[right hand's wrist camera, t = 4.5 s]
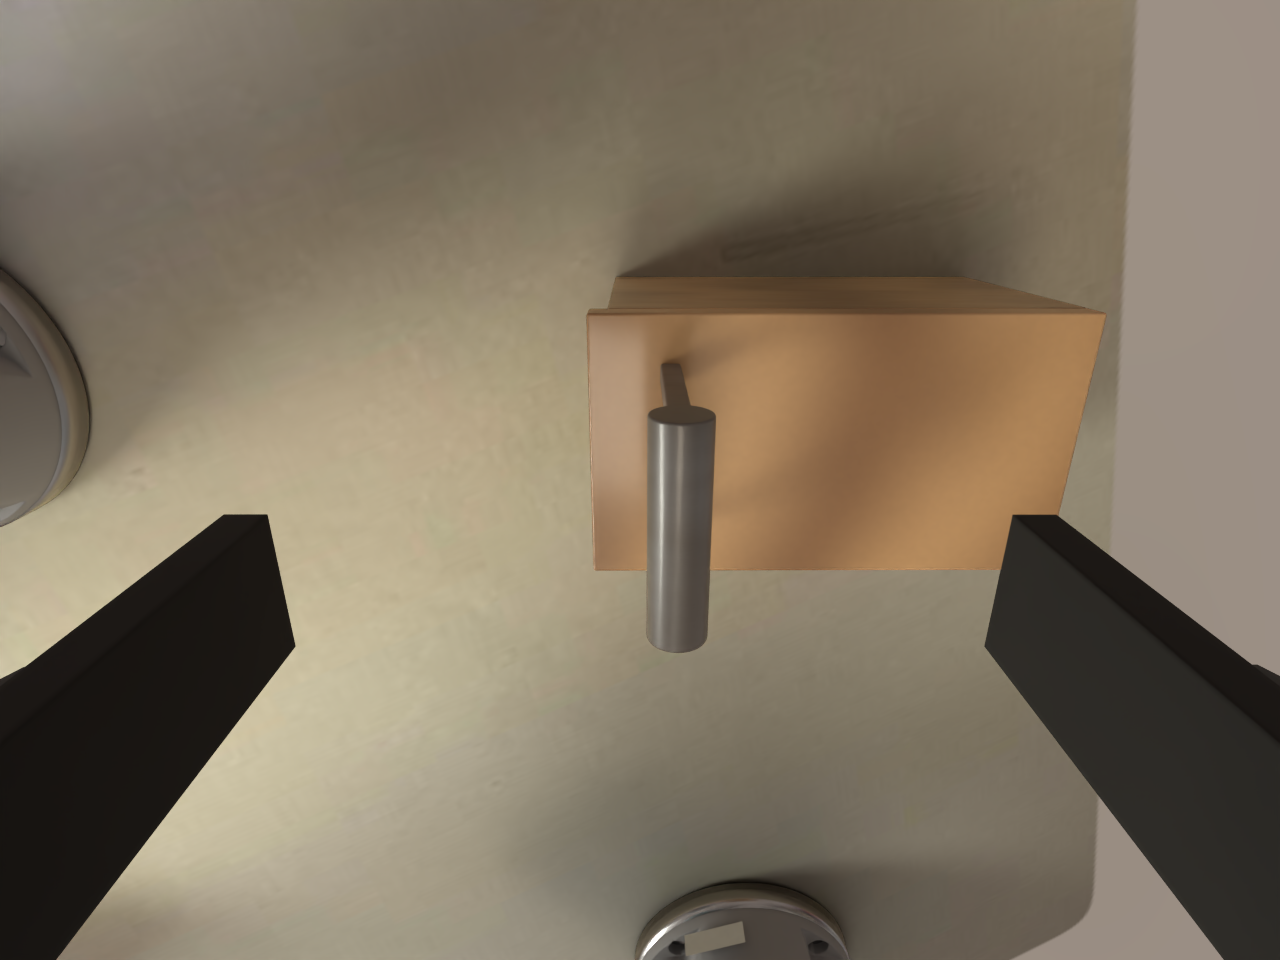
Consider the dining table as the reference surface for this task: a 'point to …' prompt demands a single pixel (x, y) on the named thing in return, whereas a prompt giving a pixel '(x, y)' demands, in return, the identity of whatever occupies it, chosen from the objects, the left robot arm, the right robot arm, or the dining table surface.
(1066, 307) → the chest
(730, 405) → the lid
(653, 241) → the dining table surface
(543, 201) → the dining table surface
